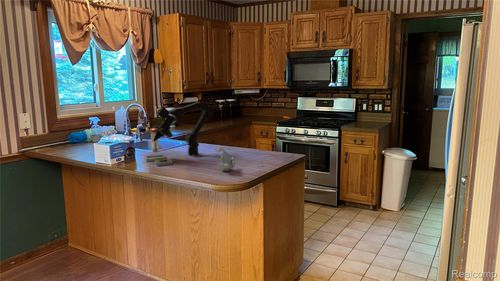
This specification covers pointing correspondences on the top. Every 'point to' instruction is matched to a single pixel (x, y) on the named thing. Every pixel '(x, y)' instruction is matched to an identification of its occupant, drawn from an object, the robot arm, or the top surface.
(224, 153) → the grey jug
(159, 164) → the receiver socket
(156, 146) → the pin
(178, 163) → the top surface
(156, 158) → the tray
